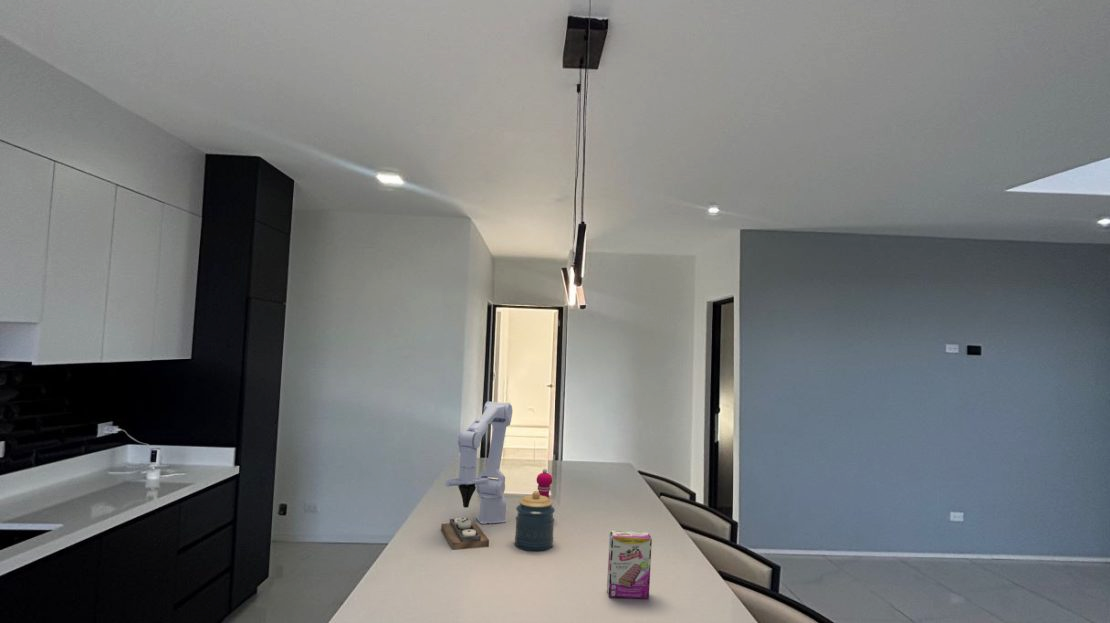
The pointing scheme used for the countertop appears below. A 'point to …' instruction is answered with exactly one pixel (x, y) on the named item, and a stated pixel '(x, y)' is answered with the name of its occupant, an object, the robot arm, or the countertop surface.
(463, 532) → the button one
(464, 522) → the button three
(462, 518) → the button two
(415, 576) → the countertop surface
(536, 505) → the canister
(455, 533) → the button panel
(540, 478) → the pepper mill
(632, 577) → the candy bar box
